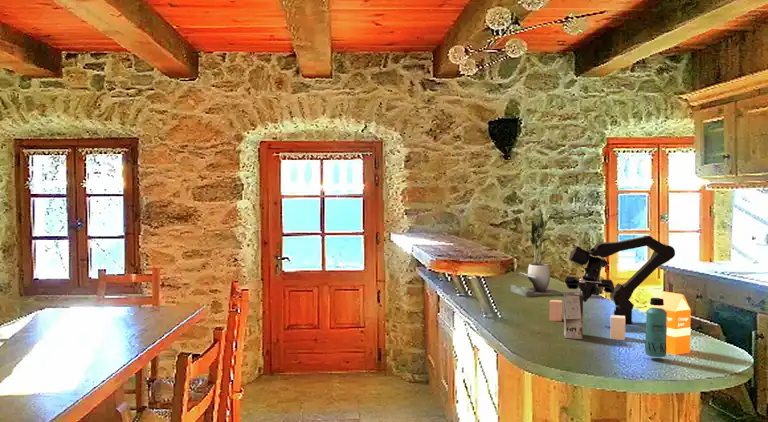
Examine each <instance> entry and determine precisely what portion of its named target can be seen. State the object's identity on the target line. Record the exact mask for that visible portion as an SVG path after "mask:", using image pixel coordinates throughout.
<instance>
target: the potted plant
mask: <svg viewBox="0 0 768 422" xmlns="http://www.w3.org/2000/svg"><path fill="white" fill-rule="evenodd" d="M537 215H538V222H537V223H536V222H535V221H533V220H531V222H530V234H531V237H530V236H529V233H526V232H523V234H524V235H525V236H526V237H527V238H528V239H529V241H530V243H531V245H532V249H533V258H534V263H529V264H528V268H527V273H526V272H525V273H524V272H521V271H520V272H517V274H516V275H517V276H525V277H527V279H528V280H529V281H530V283H532V286H533V287H530V288H529V287H528V286H526V285H525V286H518V285H515V284H510V285H509V286H510V289H509V290H510V292H511V293H514V294H517V295H520V296H521V297H525V298H535V297H536V298H537V297H539V298H540V297H558V296H562V297H564V292H562V291H559V290H555V289H552V288H548V287H549V284H550V279H551V269H550V264H548V263H542V259H543V255H544V254H545V253H546V252H547V251H548V248H546V249H545V250H543V251H542V247H543V246H542V245H543V243H544V242H545V241H549V240H551V238H550V237H545V238H544V234H545V230H546V226H547V224H548V223H549V222H550V221H551V220H552V218H553V215H549V216H548V217H547V219H546V222H544V217H543V214H542V210H541V209H540V208H538V209H537Z"/></svg>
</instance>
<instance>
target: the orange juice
mask: <svg viewBox="0 0 768 422" xmlns="http://www.w3.org/2000/svg"><path fill="white" fill-rule="evenodd" d="M658 298H662V299H663V300H664V305H663V306H656V305H654V307H653V308H662V309H664V310H665V311H666V312H667V338H666V348H667V350H666V351H667V353H666V354H671V355H674V356H675V355H682V354H686V353H687V354H688V353H690V352H691V329H692V328H691V311H692V309H691V307H690V305H689V303H688V302H687V301H688V300H687V299H686V297H685V295H684V294H682V293H676V292H670V291H665V290H661V292H660V295H659V297H658Z"/></svg>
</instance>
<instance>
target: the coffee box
mask: <svg viewBox="0 0 768 422" xmlns="http://www.w3.org/2000/svg"><path fill="white" fill-rule="evenodd" d="M563 293H564V296H563V334H564V335H563V336H564V337H565V339H576V340H577V339H578V340H582V339H583V332H584V331H583V329H584V328H583V324H584V322H583V321H584V320H583V319H584V312H583V311H584V301H583V295H582V291H569V292H567V291H564V292H563Z"/></svg>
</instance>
